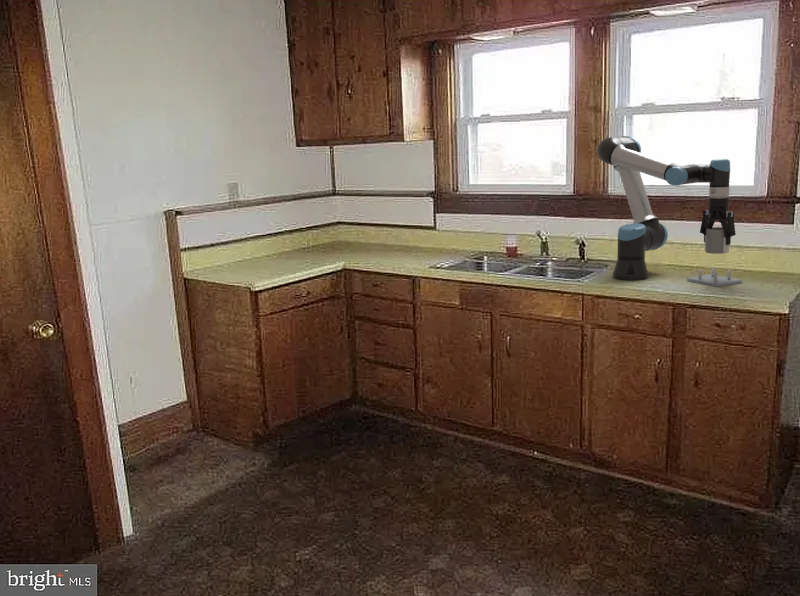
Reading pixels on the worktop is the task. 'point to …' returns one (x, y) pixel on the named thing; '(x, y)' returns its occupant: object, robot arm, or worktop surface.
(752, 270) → the worktop surface
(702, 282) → the grey pegged base plate
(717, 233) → the cup
